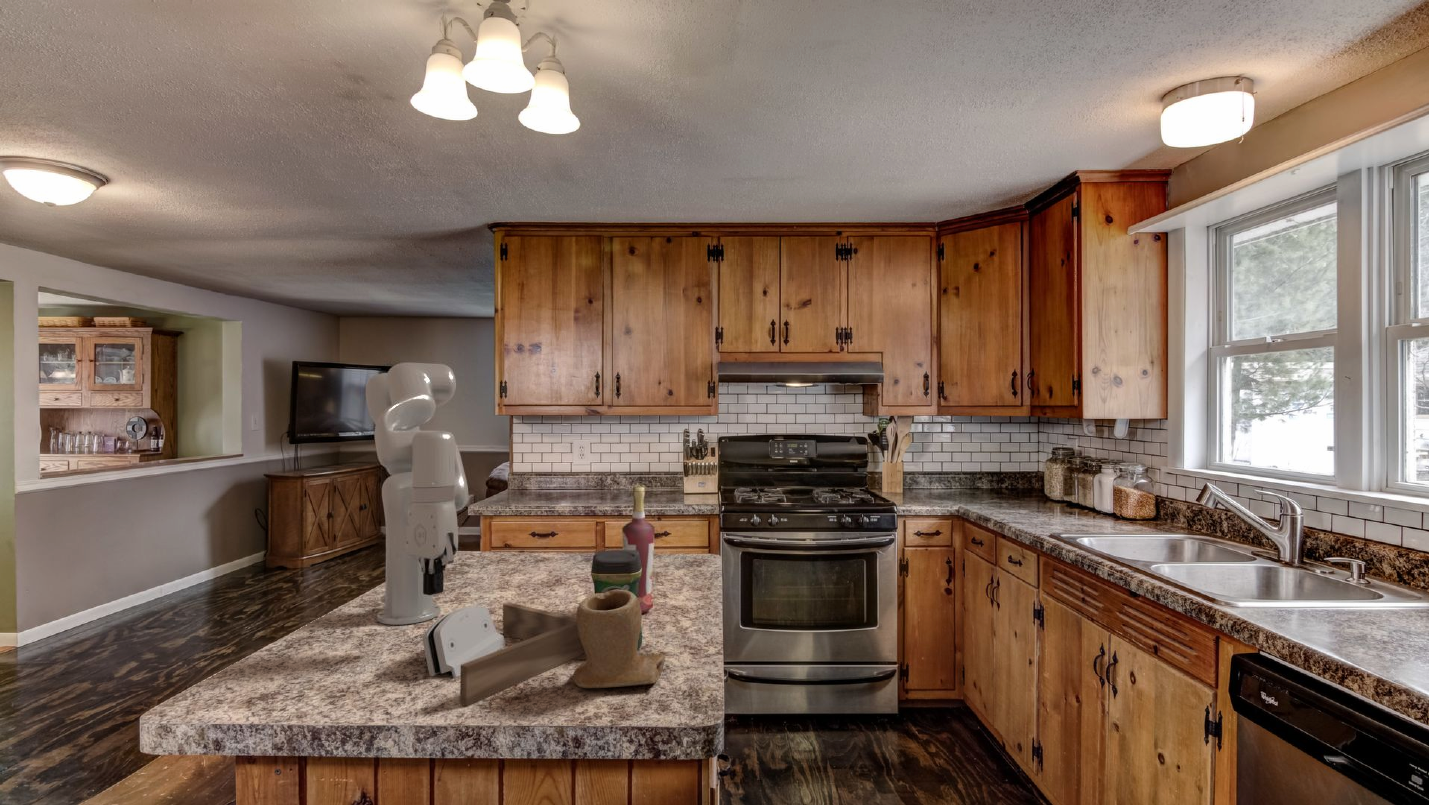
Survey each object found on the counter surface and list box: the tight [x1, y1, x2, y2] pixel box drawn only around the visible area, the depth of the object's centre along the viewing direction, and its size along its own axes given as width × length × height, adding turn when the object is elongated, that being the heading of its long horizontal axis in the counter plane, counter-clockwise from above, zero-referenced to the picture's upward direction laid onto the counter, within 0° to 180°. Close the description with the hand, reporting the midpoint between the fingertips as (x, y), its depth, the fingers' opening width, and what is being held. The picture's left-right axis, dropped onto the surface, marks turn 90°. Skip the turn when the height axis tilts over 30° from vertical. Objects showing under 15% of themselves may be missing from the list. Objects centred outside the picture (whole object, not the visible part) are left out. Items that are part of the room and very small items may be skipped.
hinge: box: [422, 605, 507, 678], centre depth 117 cm, size 17×5×10 cm, turn 168°
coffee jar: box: [590, 549, 643, 651], centre depth 122 cm, size 10×8×19 cm
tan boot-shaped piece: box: [572, 589, 666, 689], centre depth 106 cm, size 15×12×15 cm
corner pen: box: [459, 602, 586, 708], centre depth 114 cm, size 22×26×6 cm
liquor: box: [621, 486, 656, 614], centre depth 145 cm, size 7×7×28 cm
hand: (433, 593), depth 121 cm, fingers closed
